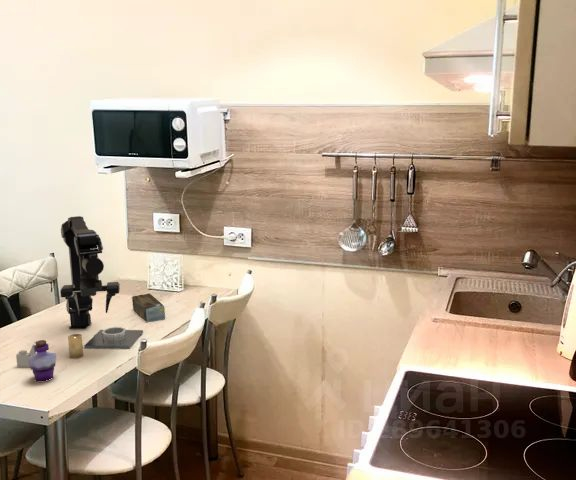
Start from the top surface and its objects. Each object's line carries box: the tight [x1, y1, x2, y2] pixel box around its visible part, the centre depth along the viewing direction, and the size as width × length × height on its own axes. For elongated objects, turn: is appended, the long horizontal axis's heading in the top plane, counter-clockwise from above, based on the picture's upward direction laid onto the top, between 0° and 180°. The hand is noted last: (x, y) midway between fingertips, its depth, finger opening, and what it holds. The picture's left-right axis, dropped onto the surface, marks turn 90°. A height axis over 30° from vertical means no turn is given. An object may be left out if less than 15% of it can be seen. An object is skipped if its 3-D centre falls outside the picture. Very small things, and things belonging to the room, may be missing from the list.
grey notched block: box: [15, 341, 37, 368], centre depth 201 cm, size 7×2×8 cm, turn 90°
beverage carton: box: [131, 292, 166, 323], centre depth 252 cm, size 8×19×7 cm, turn 29°
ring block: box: [83, 326, 144, 350], centre depth 224 cm, size 16×16×4 cm
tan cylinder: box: [67, 333, 84, 360], centre depth 209 cm, size 4×4×7 cm
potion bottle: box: [28, 339, 57, 382], centre depth 191 cm, size 9×9×12 cm
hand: (92, 313), depth 213 cm, fingers open, 9 cm apart
